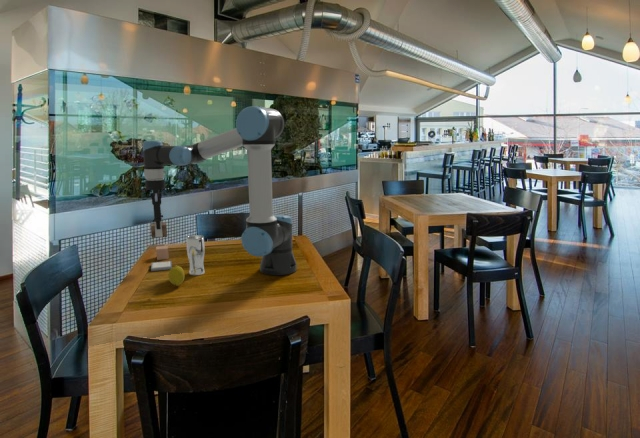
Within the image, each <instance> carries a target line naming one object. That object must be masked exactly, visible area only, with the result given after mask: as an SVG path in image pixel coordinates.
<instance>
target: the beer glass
mask: <svg viewBox="0 0 640 438" xmlns="http://www.w3.org/2000/svg"><path fill="white" fill-rule="evenodd" d="M205 249H206V248H205V237H204V235H200V234H195V235H194V234H193V235H188V236H186V253H187V258H188V262H189V271H188V274H189V275H190V276H200V275H204V274H205V273H206V272H205V271H206V270H205V265H204V262H205V261H204V259H205V251H206V250H205Z"/></svg>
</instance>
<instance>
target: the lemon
mask: <svg viewBox="0 0 640 438" xmlns="http://www.w3.org/2000/svg"><path fill="white" fill-rule="evenodd" d="M185 277H186V276H185V270H184V269H183V268H182V266H179V265H174V266H172V268H171V269H169V271H168V279H169V282H170V283H171V284H172V285H174V286H175V287H178V286H179V285H181V284H182V283H184V281H185Z"/></svg>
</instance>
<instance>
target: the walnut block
mask: <svg viewBox="0 0 640 438" xmlns="http://www.w3.org/2000/svg"><path fill="white" fill-rule="evenodd" d="M162 235H163V237H162V238H167V237H168V231H167V221H164V222H163V221H162ZM150 236H151V239H156V238H157V239H158V238H159V239H160V238H161V237H155V223H154V222H151V223H150Z"/></svg>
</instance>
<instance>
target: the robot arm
mask: <svg viewBox="0 0 640 438" xmlns="http://www.w3.org/2000/svg"><path fill="white" fill-rule="evenodd" d="M284 129H285V119H284V117H283V115H282V114H281V113H280V112H279V110H277V109H274V108H272V107H265V106H260V105H254V106H253V105H251V106H247V107H244V108H243V109H242V110H240V112H239V113H238V114H237V116H236V119H235V127H234V128H232V129H229V130H226V131H224V132H222V133H219V134H217V135H214V136H211V137H209V138H207V139H204V140H201V141H199V142H196V143H194V144H191V145H189V144H188V145H164V144H163V141H162V140H145V141H142V157H143V172H144V179H145V189H146V190H147V191H148V190H149V191H152V192H151V193H150V197H151V204H152V206H153V220H152V223H155V237H160V238H164V237H163V235H162V222H163V219H162V218H164V215H163V214H162V213H161V212H162V209H161V205H162V192H160V190H164V189H166V180H165V178H166V177H165V174H166V173H167V171H166V170H165V166H166V165H167V166H176V167H180V166H181V167H182V166H187V165H189V164H201V163H203V162H205V161H207V160H208V159H211V158H214V157H216V156H219V155H221V154H224V153H228V152H230V151H233V150H236V149H238V148H241V147H243V148H245V150H246V154H247V157H246V159H247V180H248V182H247V183H248V202H249V216H248V217H246V219H245V226H246V227H245V230H244V231H243V232H242V234H241V237H240V239H241V240H240V241H241V245H242V248H243V249H244V250H245V251H246V252H247V253H248V254H249V255H251V256H253V257H257V258H259V257H261V261H260V265H259V271H260V272H261V273H262V274H265V275H270V276H285V275H289V274H290V275H291V274H292V273H296V272H297V269H298V267H297V262H296V259H295V256H294V252H293V220H292V216H290V215H286V214H285V215H284V214H274V208H273V204H274V203H273V200H274V199H273V171H272V170H273V169H272V149H273V148H274V146H275V145H276V139H277V138H278V137H280V136H281V135H282V133H283V131H284Z"/></svg>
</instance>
